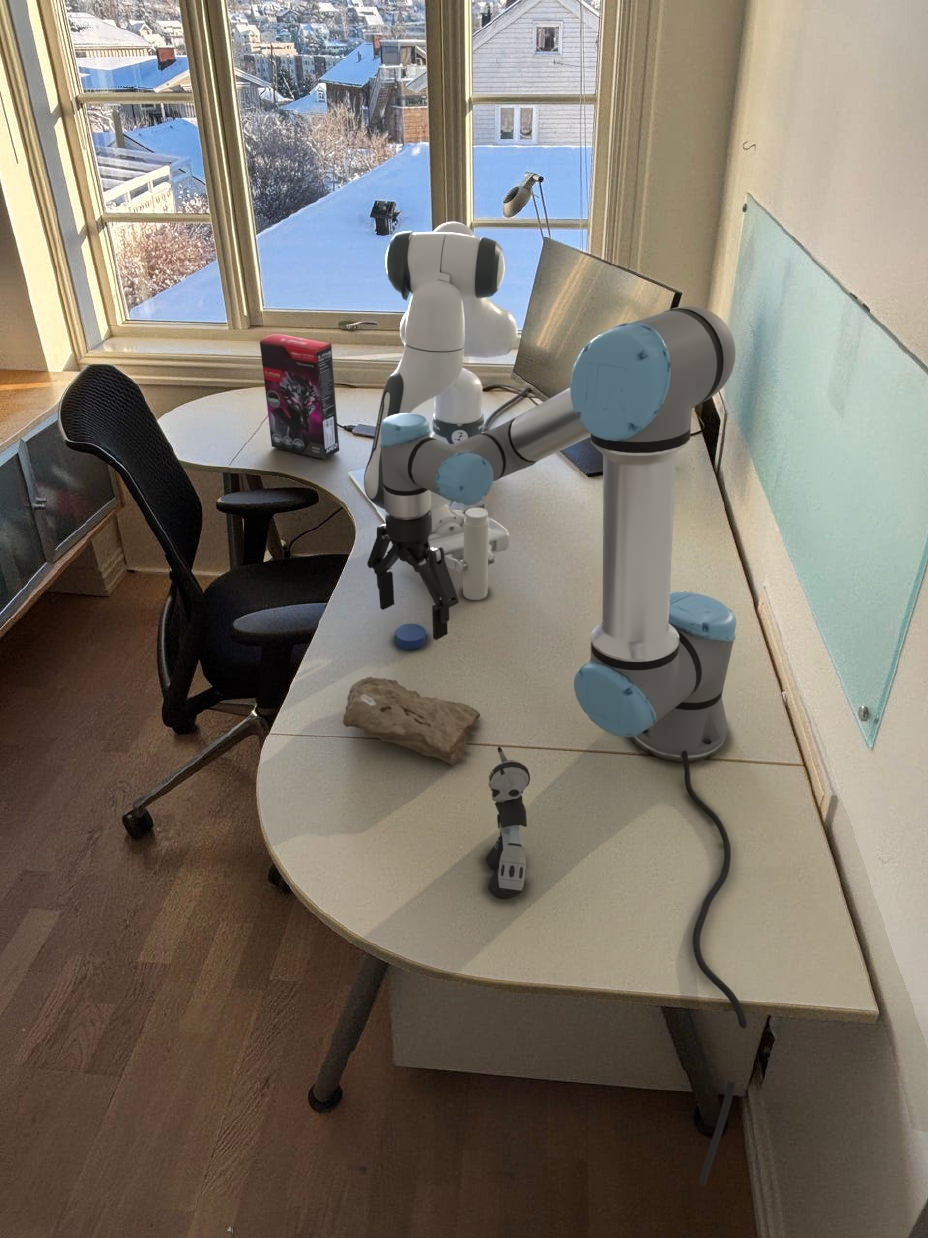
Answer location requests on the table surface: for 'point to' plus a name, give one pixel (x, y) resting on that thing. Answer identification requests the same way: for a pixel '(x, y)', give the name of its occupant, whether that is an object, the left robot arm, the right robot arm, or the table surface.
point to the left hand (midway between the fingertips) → (478, 564)
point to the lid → (410, 636)
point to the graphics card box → (300, 395)
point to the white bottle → (476, 553)
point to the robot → (508, 827)
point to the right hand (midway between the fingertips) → (413, 621)
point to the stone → (410, 718)
